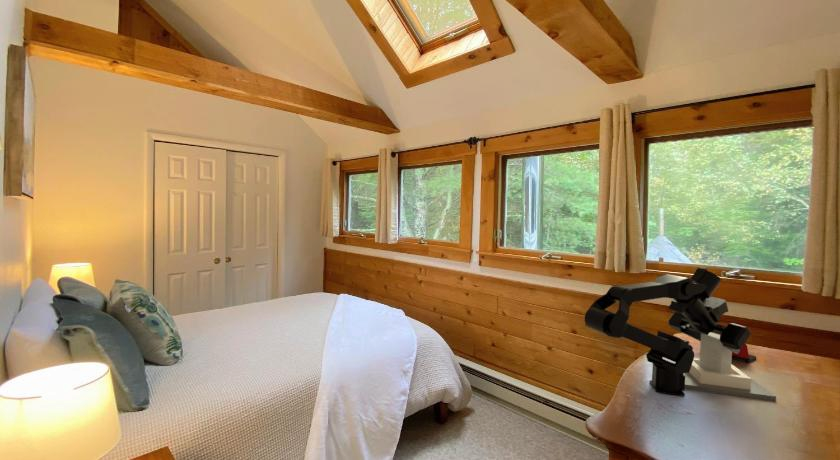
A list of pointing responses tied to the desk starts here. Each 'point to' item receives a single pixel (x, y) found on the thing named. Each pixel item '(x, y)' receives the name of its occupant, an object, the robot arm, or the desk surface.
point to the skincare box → (714, 354)
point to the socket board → (725, 383)
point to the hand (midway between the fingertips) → (719, 346)
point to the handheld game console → (743, 355)
